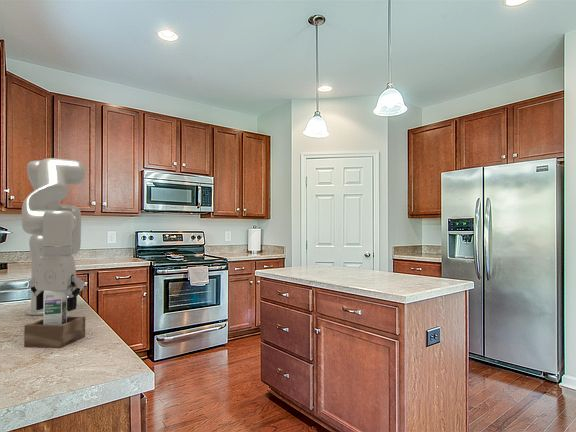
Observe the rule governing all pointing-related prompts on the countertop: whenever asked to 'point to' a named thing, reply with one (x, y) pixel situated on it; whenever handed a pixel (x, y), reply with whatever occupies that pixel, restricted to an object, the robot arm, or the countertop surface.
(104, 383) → the countertop surface
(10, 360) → the countertop surface
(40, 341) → the walnut holder
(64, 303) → the syrup box
